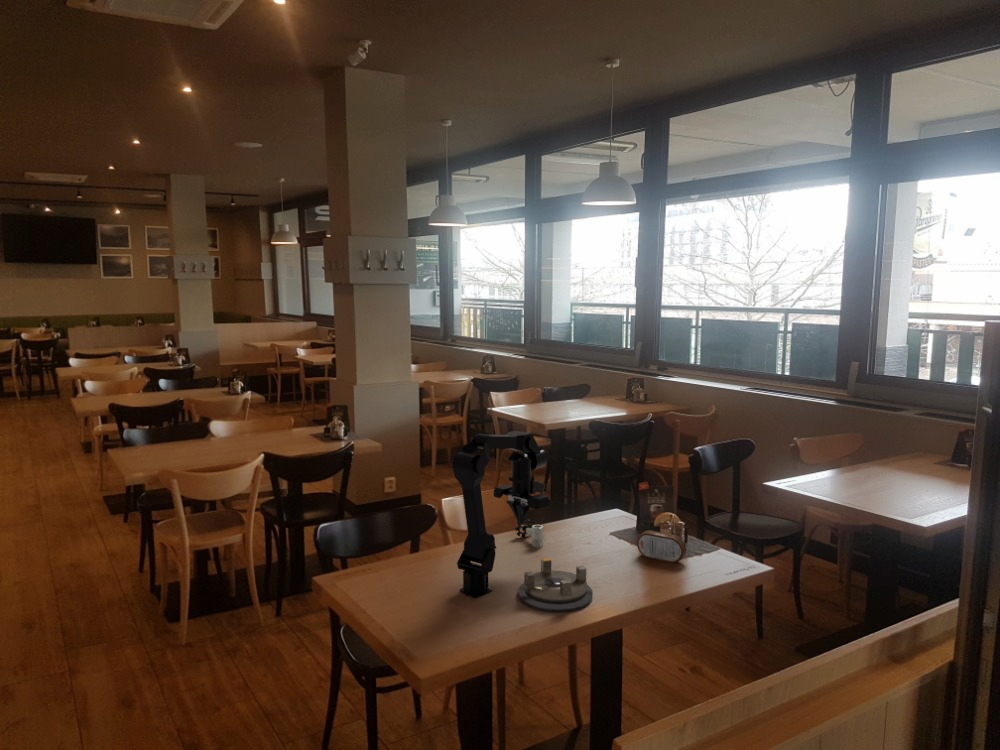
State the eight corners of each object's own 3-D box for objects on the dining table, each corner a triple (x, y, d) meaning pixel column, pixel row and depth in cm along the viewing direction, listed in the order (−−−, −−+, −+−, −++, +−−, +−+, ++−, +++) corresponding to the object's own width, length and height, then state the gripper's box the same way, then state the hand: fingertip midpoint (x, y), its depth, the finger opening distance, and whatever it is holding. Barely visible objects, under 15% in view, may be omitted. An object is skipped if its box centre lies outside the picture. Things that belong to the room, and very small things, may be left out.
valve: (549, 546, 226) (531, 535, 237) (549, 526, 226) (531, 516, 236) (531, 549, 223) (514, 538, 234) (531, 529, 223) (514, 519, 233)
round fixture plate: (597, 599, 183) (597, 578, 182) (536, 607, 178) (536, 585, 178) (572, 574, 199) (573, 555, 198) (516, 581, 194) (516, 561, 194)
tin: (686, 563, 212) (686, 536, 211) (682, 566, 209) (683, 539, 208) (639, 553, 220) (639, 527, 219) (635, 556, 217) (636, 530, 216)
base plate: (558, 619, 175) (558, 611, 175) (503, 595, 189) (503, 587, 189) (607, 596, 188) (607, 588, 188) (552, 574, 203) (552, 567, 203)
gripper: (563, 474, 205) (562, 525, 207) (518, 463, 218) (518, 511, 220) (537, 481, 197) (536, 534, 199) (492, 469, 211) (492, 519, 213)
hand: (521, 524), depth 208 cm, fingers closed
